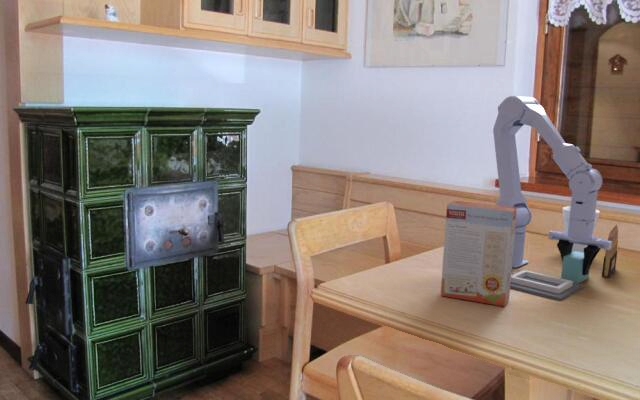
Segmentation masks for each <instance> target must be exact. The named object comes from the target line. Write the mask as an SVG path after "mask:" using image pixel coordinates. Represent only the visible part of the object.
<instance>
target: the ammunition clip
mask: <svg viewBox="0 0 640 400" xmlns="http://www.w3.org/2000/svg"><path fill="white" fill-rule="evenodd" d="M618 237H619V228H618V225H617V224H615V226H614V227H612V229H611V230H610V232H609V234H608V238H607V240H608V241H612V245H611V249H610V250H605V252H604V256H603V264H602V271H601V277H604V278H609V279H610V278H611V277H612V274H613V273H614V272H615V270H616V267H617V257H618V242H619V241H618V240H619V239H618Z"/></svg>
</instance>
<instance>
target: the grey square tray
mask: <svg viewBox="0 0 640 400" xmlns="http://www.w3.org/2000/svg"><path fill="white" fill-rule="evenodd" d="M583 288H584V285H583V284H580V283H578V284H576V283H573V281H571V280H566V279H562V278H561V277H557V276H552V275H548V274H543V273H539V272H536V271H530V270H527V269H526V270H525V269H523V270H521V271H519V272H516V273H514V274H511V283H510V289H512V290H517V291H520V292H525V293H528V294H531V295H532V294H533V295H537V296H541V297H545V298H548V299H551V300H552V299H553V300H556V301H560V302H561V301H563V300H564V299H566V298H567V297H570V296H571V295H573V294H574V293H576V292H578V291H579V290H581V289H583Z"/></svg>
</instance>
